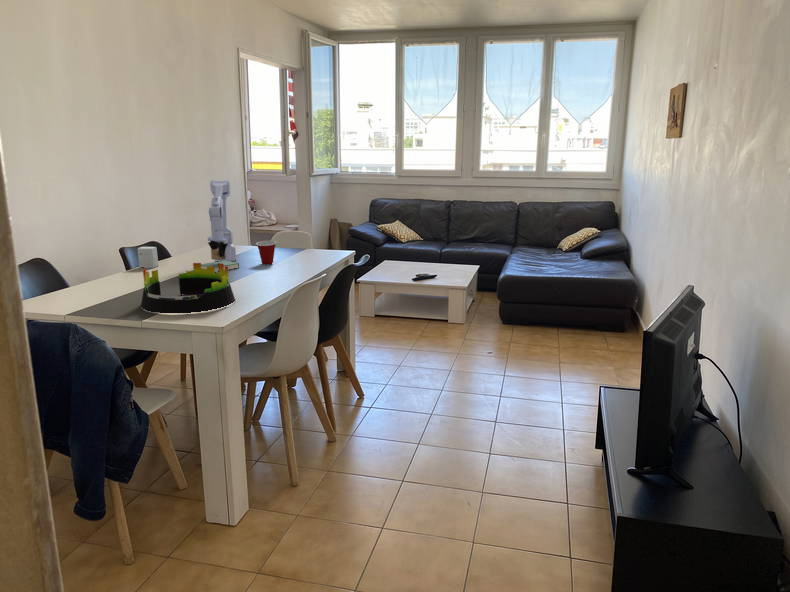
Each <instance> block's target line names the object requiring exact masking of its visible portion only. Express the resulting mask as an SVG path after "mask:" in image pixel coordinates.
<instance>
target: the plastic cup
mask: <svg viewBox="0 0 790 592" xmlns="http://www.w3.org/2000/svg"><path fill="white" fill-rule="evenodd" d="M255 245H256V247H257V249H258V254H259V257H260V260H261V265H263V264H271V265H273V264H272V263H274V259H275V251H276V250H275V249H276V245H277V241H275V240H262V241H257V242H256V243H255Z"/></svg>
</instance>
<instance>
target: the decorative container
mask: <svg viewBox="0 0 790 592" xmlns="http://www.w3.org/2000/svg"><path fill="white" fill-rule="evenodd" d="M201 264H202V263H201V262H193V263H192V265H193V267H192V268H193V270H186V271H185V273H179V276H178V285H179V286H178V287H179V295H180V294H181V295H182V294H201V295H199V296H197V295H182V296H181V295H180V296H179V295H175V296H170V295H162V293H161V291H162V290H161V283H160V281H159V279H160V278H159V273H158V272H159V271H158V269H155V270H152V271H151V277H150V271H149V270H148V271H147V268H143V270H142V274H143V275H142V276H143V285H144V287H143V291H142V297H141V303H140V308H141V307H142V308H143V309H145V310H147V311H151V312H160V313H191V312H201V311H208V310H212V309H217V308H221V307H224V306H227V305H229V304H231V303H233V302H234V301H235V302H236V299H235V295H234V292H233V288H232V287H231V286H232V285H231V283H230V279H229V270H228V267H227V266H225V269H224V264H221V263H218V271H219V272H216V273H215V269H214V266H207V268H201Z"/></svg>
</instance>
